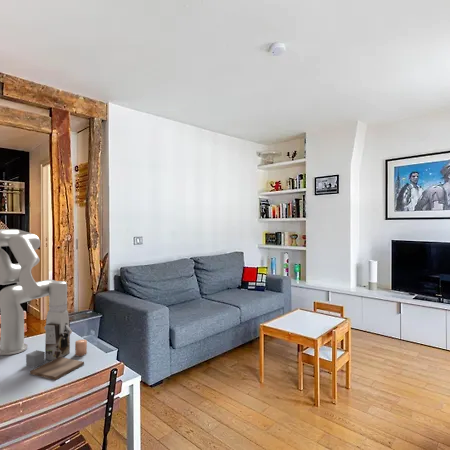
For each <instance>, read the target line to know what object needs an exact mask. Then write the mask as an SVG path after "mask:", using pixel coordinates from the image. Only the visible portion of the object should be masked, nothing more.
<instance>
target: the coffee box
mask: <svg viewBox="0 0 450 450" xmlns="http://www.w3.org/2000/svg"><path fill="white" fill-rule="evenodd" d="M45 326H46V330H45V340H44V341H45V347H44V348H45V349H44V352H45V360H50V361H52V360H55V359H57V358H59V357H63V358H64V357H65V356H68V355H69V354H70V353H71V352H70V351H71V350H70V348H71V335H70V336H69V337H68V342H67V346H66V347H64V348H61V339H62V337H61V334H59V325H58V324H50V323H49V324H46V323H45ZM69 327H70V328H71V320H70V319H69ZM64 332H65V330H64ZM64 336H65V333H64Z"/></svg>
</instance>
